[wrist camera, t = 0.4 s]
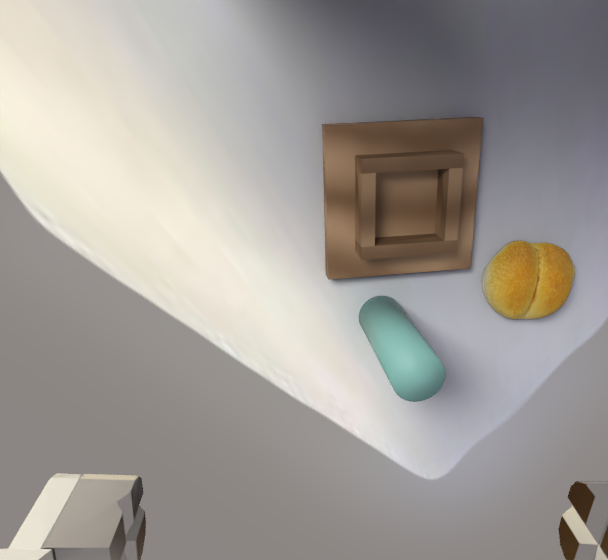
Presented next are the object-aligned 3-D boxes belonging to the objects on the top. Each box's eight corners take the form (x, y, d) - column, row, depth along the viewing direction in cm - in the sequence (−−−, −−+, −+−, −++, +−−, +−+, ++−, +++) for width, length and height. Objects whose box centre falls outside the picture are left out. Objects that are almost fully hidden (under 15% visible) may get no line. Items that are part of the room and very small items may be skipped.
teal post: (358, 297, 51) (392, 356, 40) (401, 294, 52) (447, 351, 40) (358, 336, 53) (391, 404, 42) (400, 333, 53) (443, 398, 42)
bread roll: (487, 236, 51) (507, 248, 47) (569, 242, 52) (595, 254, 48) (470, 312, 53) (487, 329, 50) (548, 315, 55) (570, 332, 51)
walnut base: (322, 124, 45) (330, 128, 41) (475, 116, 46) (496, 119, 42) (325, 274, 50) (333, 289, 46) (463, 263, 51) (481, 277, 47)
